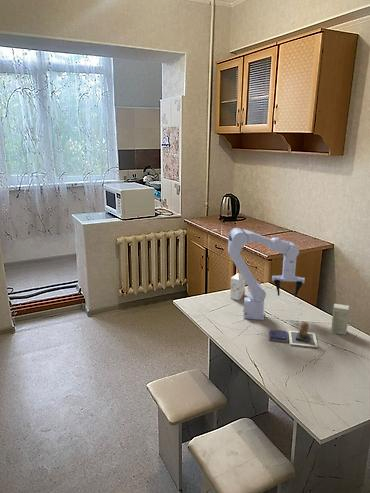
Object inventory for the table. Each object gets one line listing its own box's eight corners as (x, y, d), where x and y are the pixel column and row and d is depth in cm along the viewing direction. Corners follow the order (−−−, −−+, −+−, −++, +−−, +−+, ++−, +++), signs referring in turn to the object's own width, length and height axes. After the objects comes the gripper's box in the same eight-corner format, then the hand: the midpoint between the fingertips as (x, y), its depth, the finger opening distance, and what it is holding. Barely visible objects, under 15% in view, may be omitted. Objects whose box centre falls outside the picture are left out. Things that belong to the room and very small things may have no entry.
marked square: (289, 345, 152) (289, 343, 152) (288, 331, 163) (288, 330, 163) (317, 348, 150) (318, 346, 150) (314, 334, 161) (314, 333, 160)
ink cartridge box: (236, 292, 203) (237, 267, 198) (245, 294, 200) (246, 269, 196) (229, 298, 196) (230, 272, 191) (238, 300, 193) (239, 274, 189)
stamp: (295, 340, 155) (297, 325, 153) (297, 334, 160) (299, 319, 158) (308, 342, 153) (309, 327, 151) (309, 337, 158) (311, 322, 155)
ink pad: (268, 340, 156) (268, 337, 155) (268, 332, 163) (268, 328, 162) (288, 342, 154) (288, 339, 154) (287, 334, 161) (287, 330, 160)
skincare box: (346, 330, 163) (350, 305, 160) (346, 335, 159) (349, 309, 156) (331, 327, 166) (334, 302, 162) (330, 332, 162) (333, 307, 158)
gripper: (304, 266, 174) (302, 293, 178) (272, 264, 177) (271, 290, 181) (306, 271, 167) (303, 299, 171) (273, 269, 170) (271, 296, 174)
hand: (286, 295), depth 175 cm, fingers open, 7 cm apart
